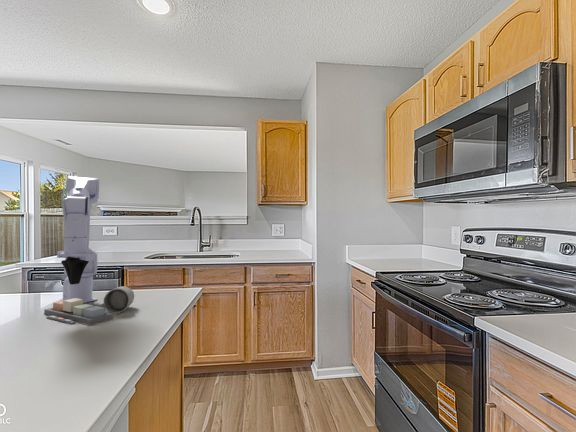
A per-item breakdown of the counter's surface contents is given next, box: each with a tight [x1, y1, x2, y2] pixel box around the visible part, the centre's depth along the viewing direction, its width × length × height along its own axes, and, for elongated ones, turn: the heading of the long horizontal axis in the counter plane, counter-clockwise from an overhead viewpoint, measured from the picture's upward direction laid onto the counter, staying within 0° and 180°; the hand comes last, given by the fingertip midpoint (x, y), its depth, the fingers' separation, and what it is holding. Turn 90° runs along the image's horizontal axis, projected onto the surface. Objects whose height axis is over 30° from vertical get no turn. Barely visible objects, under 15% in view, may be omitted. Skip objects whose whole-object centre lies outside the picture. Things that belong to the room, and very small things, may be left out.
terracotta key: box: [52, 300, 63, 311], centre depth 106 cm, size 4×4×3 cm
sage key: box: [73, 303, 95, 316], centre depth 101 cm, size 4×4×3 cm
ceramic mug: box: [97, 285, 135, 314], centre depth 110 cm, size 11×8×8 cm
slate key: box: [84, 305, 106, 319], centre depth 99 cm, size 4×4×3 cm
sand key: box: [63, 298, 84, 312], centre depth 103 cm, size 4×4×3 cm
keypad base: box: [43, 307, 114, 326], centre depth 102 cm, size 22×7×1 cm, turn 64°
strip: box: [46, 315, 76, 325], centre depth 98 cm, size 12×1×1 cm, turn 64°
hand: (74, 283), depth 99 cm, fingers closed
